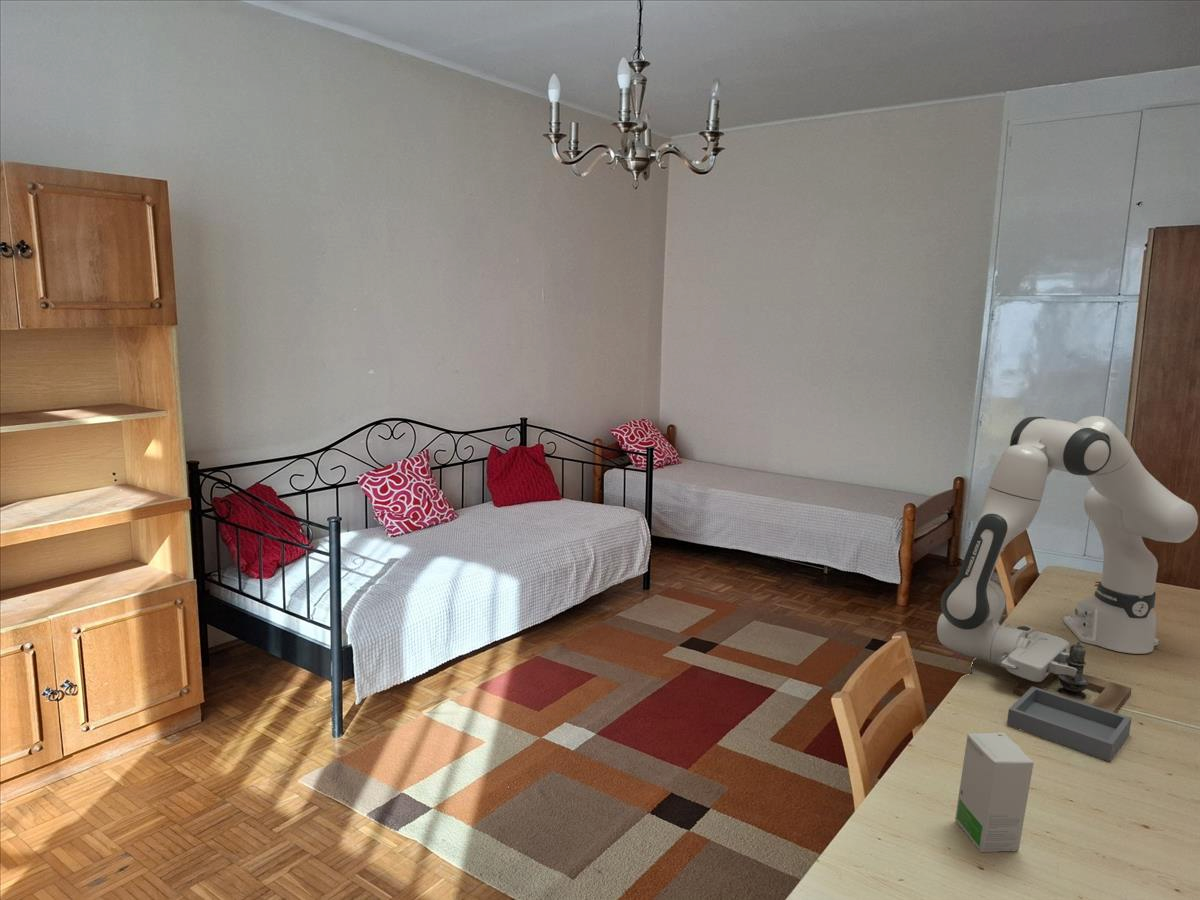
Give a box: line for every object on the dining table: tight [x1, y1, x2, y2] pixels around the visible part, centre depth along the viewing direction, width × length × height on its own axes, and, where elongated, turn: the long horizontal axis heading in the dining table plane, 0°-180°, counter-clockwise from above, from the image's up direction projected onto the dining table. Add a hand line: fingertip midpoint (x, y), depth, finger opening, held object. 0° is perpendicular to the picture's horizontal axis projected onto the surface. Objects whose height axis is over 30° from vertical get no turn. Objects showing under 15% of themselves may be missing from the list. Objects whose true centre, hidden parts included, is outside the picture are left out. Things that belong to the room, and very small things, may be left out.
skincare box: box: [954, 732, 1035, 853], centre depth 128 cm, size 8×7×16 cm
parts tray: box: [1006, 686, 1133, 763], centre depth 162 cm, size 18×14×4 cm
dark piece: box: [1057, 640, 1090, 700], centre depth 177 cm, size 6×6×12 cm
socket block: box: [1012, 673, 1132, 713], centre depth 178 cm, size 18×18×2 cm
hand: (1079, 668), depth 176 cm, fingers closed on dark piece, 3 cm apart
